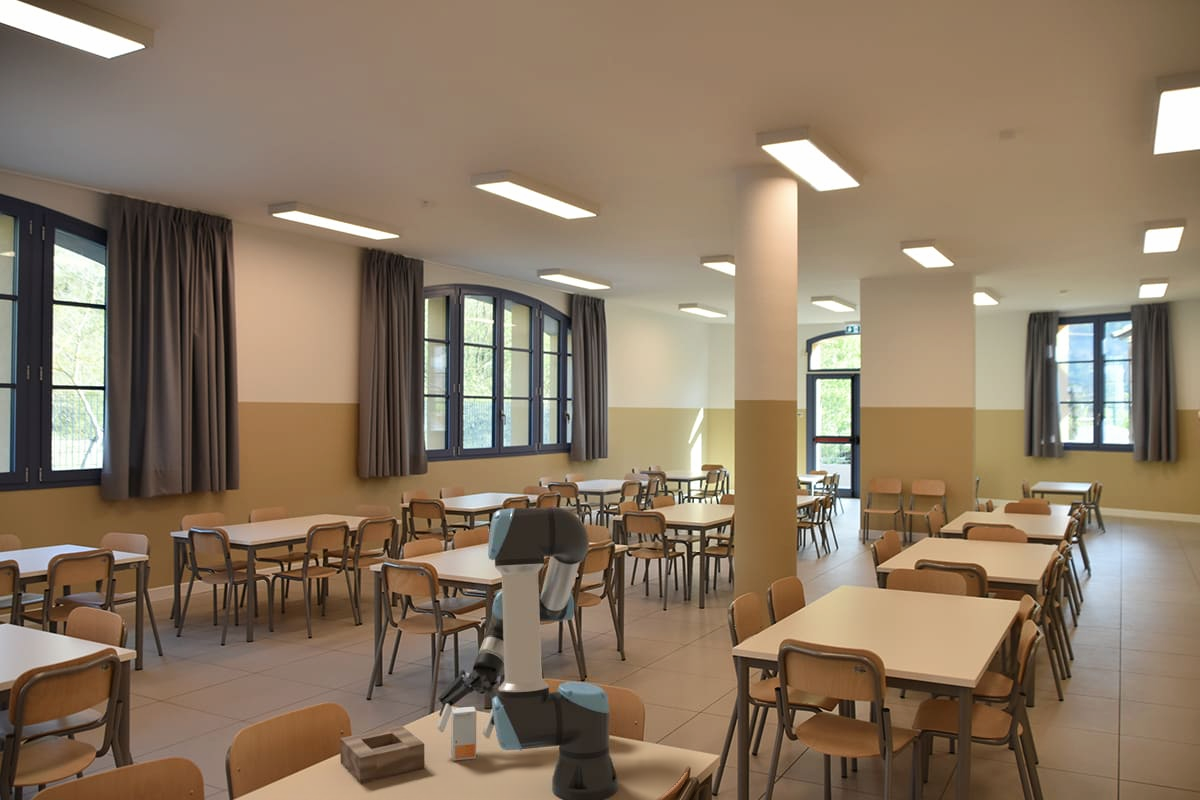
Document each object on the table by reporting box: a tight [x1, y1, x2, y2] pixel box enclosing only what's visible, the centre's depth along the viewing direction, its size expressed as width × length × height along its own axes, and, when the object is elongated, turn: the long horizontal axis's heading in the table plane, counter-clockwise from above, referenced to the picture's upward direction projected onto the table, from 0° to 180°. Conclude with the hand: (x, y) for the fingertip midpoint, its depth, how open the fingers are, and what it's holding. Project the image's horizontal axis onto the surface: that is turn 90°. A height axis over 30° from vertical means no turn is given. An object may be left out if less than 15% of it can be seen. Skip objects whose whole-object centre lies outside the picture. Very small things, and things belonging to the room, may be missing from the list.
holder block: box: [339, 725, 425, 784], centre depth 212 cm, size 16×16×6 cm
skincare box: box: [450, 706, 477, 762], centre depth 217 cm, size 6×4×12 cm
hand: (462, 732), depth 217 cm, fingers open, 13 cm apart
